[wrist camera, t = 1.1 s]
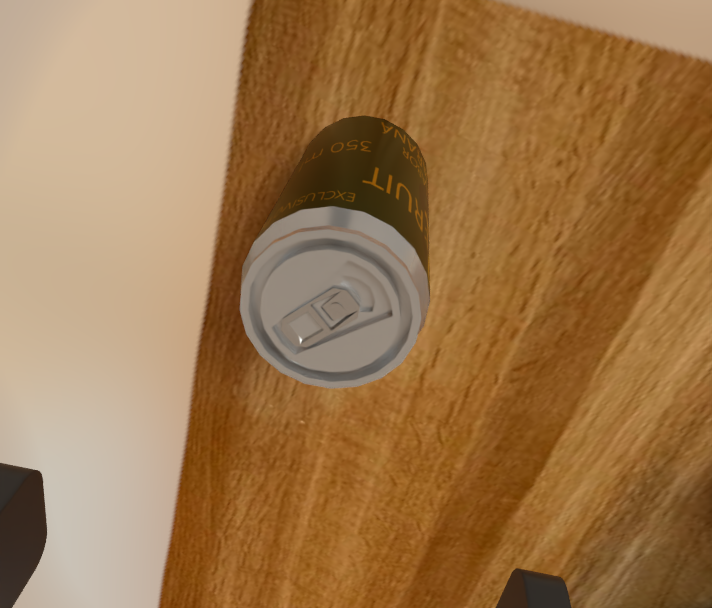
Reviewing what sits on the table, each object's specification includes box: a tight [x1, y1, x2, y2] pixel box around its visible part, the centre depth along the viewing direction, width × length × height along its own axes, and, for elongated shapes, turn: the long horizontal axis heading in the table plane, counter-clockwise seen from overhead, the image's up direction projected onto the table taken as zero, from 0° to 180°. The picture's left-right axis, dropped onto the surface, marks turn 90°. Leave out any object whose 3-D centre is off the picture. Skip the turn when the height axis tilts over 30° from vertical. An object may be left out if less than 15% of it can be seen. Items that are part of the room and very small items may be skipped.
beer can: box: [240, 116, 430, 388], centre depth 23 cm, size 5×5×12 cm
